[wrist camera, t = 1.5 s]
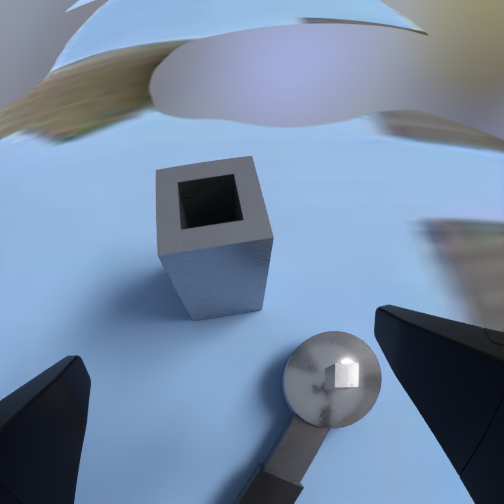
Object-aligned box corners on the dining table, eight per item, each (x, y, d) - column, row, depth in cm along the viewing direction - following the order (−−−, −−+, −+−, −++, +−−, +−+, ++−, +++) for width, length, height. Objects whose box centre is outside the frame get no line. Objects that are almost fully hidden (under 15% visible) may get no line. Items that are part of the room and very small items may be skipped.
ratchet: (283, 544, 14) (291, 571, 10) (198, 509, 15) (188, 531, 12) (383, 359, 21) (411, 346, 17) (306, 323, 22) (320, 303, 18)
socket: (261, 309, 22) (273, 237, 14) (192, 320, 22) (157, 255, 13) (249, 248, 25) (251, 155, 16) (185, 258, 24) (155, 170, 15)
